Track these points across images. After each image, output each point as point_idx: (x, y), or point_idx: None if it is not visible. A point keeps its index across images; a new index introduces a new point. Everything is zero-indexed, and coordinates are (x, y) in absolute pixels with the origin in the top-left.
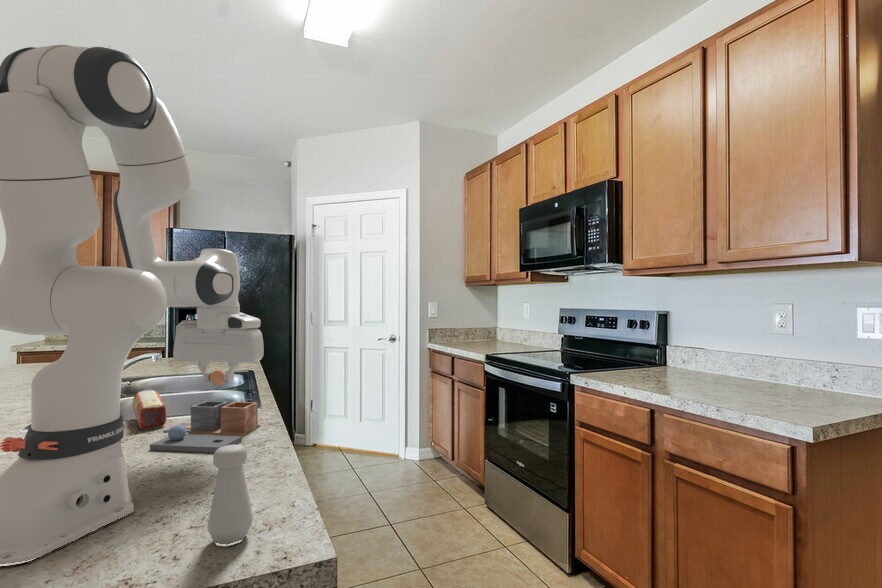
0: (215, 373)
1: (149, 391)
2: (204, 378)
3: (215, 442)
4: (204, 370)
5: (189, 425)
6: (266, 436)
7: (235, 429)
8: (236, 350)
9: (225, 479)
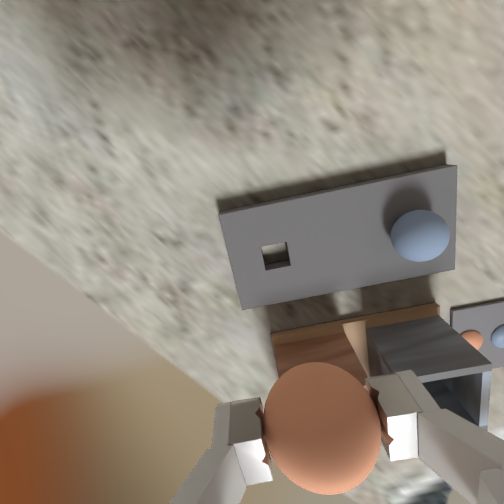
0: (318, 424)
1: None
2: (404, 381)
3: (289, 259)
4: (446, 440)
5: (481, 353)
6: (210, 351)
7: (302, 346)
8: None
9: None
